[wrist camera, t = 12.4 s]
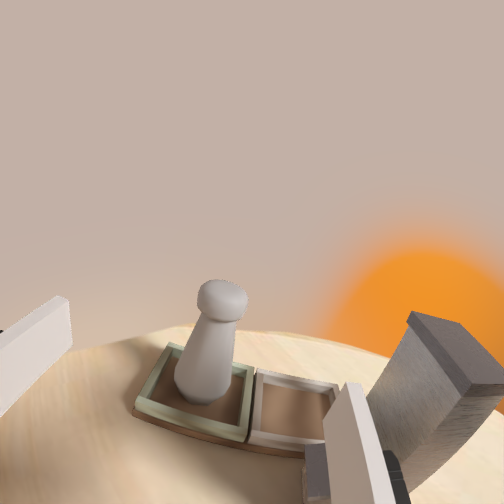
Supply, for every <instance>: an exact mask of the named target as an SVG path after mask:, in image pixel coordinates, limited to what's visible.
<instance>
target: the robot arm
mask: <svg viewBox="0 0 504 504" xmlns="http://www.w3.org/2000/svg"><path fill="white" fill-rule="evenodd" d="M72 346H73V342H72V335H71V323H70V311H69V300H68V299H65V298H63V297H61V296H59V295H57V296H55V297H54V298H52V299H51V300H49V301H48V302H46V303H45V304H43V305H42V306H40V307H38V308H37V309H35V310H34V311H32V312H31V313H29V314H28V315H27V316H25V317H24V318H22V319H21V320H19V321H18V322H16V323H15V324H14V325H12V326H11V327H9V328H8V329H6V330H5V331H2V330H0V417H1V416H2V415H3V414H4V413H5V412H6V411H7V410H8V409H9V408H10V407H11V406H12V405H13V404H14V403H15V402H16V401H17V400H18V398H19V397H20V396H21V395H22V394H23V393H24V392H25V391H26V390H27V389H28V388H29V387H30V386H31V385H32V384H33V383H34V382H35V381H36V380H37V379H38V378H39V377H40V376H41V375H42V374H43V373H44V372H45V371H46V370H47V369H48V368H50V367H51V366H52V365H53V364H54V363H55V362H56V361H57V360H58V359H59V358H60V357H61V356H62V355H63V354H64V353H65V352H66V351H67V350H68V349H69V348H70V347H72ZM322 422H323V430H324V438H325V446H326V455H327V463H328V473H329V482H330V493H331V504H411V501H410V498H409V494H408V491H407V487H406V484H405V480H403V478H404V477H403V473H402V472H401V467H400V464H399V460H398V459H397V457H396V456H395V455H394V453H393V452H392V451H391V450H382V449H381V446H380V442H379V439H378V435H377V432H376V429H375V426H374V422H373V419H372V416H371V413H370V410H369V406H368V403H367V400H366V397H365V394H364V391H363V388H362V385H361V384H360V383H352V382H345V384H344V386H343V388H342V389H341V391H340V393H339V395H338V396H337V398H336V400H335V401H334V403H333V405H332V406H331V408H330V409H329V411H328V413H327V414H326V416H325V417H324V419H323V420H322Z"/></svg>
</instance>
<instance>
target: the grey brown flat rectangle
mask: <svg viewBox="0 0 504 504" xmlns="http://www.w3.org/2000/svg"><path fill="white" fill-rule="evenodd" d="M184 348H185V347H183V346H180V345H177V344H174V343H171V342H169V343H168V344H167V346H166V348H165V350H164V351H163V353H162V355H161V356H160V358H159V360H158V362H157V363H156V365H155V367H154V368H153V370H152V372H151V374H150V375H149V377H148V379H147V381H146V382H145V384H144V386H143V388H142V389H141V391H140V393H139V395H138V397H137V398H136V400H135V406H134V408H133V410H132V415H133V416H134V417H137V418H139V419H142V420H144V421H147V422H149V423H152V424H155V425H158V426H160V427H163V428H166V429H169V430H172V431H175V432H178V433H181V434H184V435H188V436H191V437H194V438H198V439H201V440H205V441H209V442H212V443H216V444H220V445H225V446H229V447H233V448H238V449H243V450H248V451H253V452H258V453H264V454H270V455H277V456H284V457H292V458H301V459H305V457H304V445H307V444H318V443H325V438H324V430H323V422H322V420H323V419H324V417H325V416H326V414H327V413H328V411H329V409H330V408H331V406H332V405H333V403H334V401H335V400H336V398H337V396H338V395H339V393H340V391H339V387H338V384H333V383H327V382H321V381H315V380H310V379H305V378H300V377H295V376H290V375H285V374H281V373H276V372H272V371H268V370H264V369H259V368H257V371H256V373H255V375H254V367H251V366H248V365H244V364H240V363H236V362H232V373H231V383H230V386H229V388H228V390H227V391H226V393H225V394H224V396H222V397H220V398H219V399H217V400H215V401H214V402H212V403H211V404H210V405H209V406H202V405H194V404H190V403H189V402H188V401H187V400H186V399H185V398H184V397H183V396H182V395H181V394H180V392H179V390H178V388H177V385H176V383H175V381H174V372H175V367H176V365H177V363H178V361H179V359H180V357H181V354H182V352H183V350H184Z"/></svg>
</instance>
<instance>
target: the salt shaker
mask: <svg viewBox="0 0 504 504" xmlns="http://www.w3.org/2000/svg"><path fill="white" fill-rule="evenodd" d="M197 306H198V308H199V309H200V311H201V312H202V313H201V315H200V317H199V319H198V321H197V323H196V325H195V327H194V329H193V332H192V334H191V336H190V338H189V340H188V342H187V344H186V346H185V348H184V350H183V352H182V354H181V357H180V359H179V361H178V363H177V365H176V367H175V372H174V381H175V383H176V385H177V388H178V390H179V392H180V394H181V395H182V396H183V397H184V398H185V399H186V400H187V401H188V402H189V403H190V404H194V405H202V406H209V405H210V404H211V403H212V402H214V401H215V400H217V399H219V398H220V397H222V396H224V394H225V393H226V391H227V390H228V388H229V386H230V383H231V373H232V362H233V352H234V341H235V331H236V321H237V320H240V319H241V318H242V316H243V315H244V314H245V312H246V310H247V307H248V297H247V294H246V292H245V291H244V290H243V289H242V288H241V287H240V286H238V285H236V284H234V283H231V282H228V281H225V280H210V281H208V282H206V283H204V284H203V285H202V286H201V287H200V290H199V292H198V299H197Z"/></svg>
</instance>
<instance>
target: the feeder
mask: <svg viewBox="0 0 504 504" xmlns="http://www.w3.org/2000/svg"><path fill="white" fill-rule="evenodd" d="M407 323H408V325H409V326H408V328H407V330H406V332H405V334H404V336H403V338H402V340H401V341H400V344H399V345H398V347H397V349H396V350H395V352H394V354H393V356H392V357H391V359H390V361H389V362H388V364H387V366H386V367H385V369H384V371H383V372H382V374H381V375H380V377H379V379H378V380H377V382H376V383H375V385H374V386H373V388H372V389H371V391H370V392H369V394H368V395H367V397H366V400H367V403H368V406H369V410H370V413H371V416H372V419H373V422H374V426H375V429H376V432H377V435H378V439H379V442H380V446H381V449H382V450H391V451H392V452H393V453H394V455H395V456H396V457H397V459H398V460H399V464H400V467H401V472H402V473H403V477H404V478H403V480H405V484H406V487H407V491H408V494H409V493H410V492H412V491H413V490H414V489H415V488H417V487H418V486H419V485H420V484H422V483H423V482H424V481H425V480H426V479H428V478H429V477H430V476H431V475H432V474H433V473H435V472H436V471H437V470H438V469H439V468H440V467H441V466H442V465H444V464H445V463H446V462H447V461H448V460H449V459H450V458H451V457H452V456H453V455H454V454H455V453H456V452H457V451H458V450H459V449H460V448H461V447H462V446H463V445H464V444H465V443H466V442H467V441H468V439H469V438H470V437H471V436H472V435H473V434H474V433H475V432H476V431H477V429H478V428H479V427H480V426H481V425H482V424H483V422H484V421H485V420H486V419H487V418H488V416H489V415H490V414H491V413H492V411H493V410H494V409H495V407H496V406H497V405H498V404H499V402H500V401H501V399H502V398H503V397H504V368H503V367H502V366H501V365H500V364H499V363H498V362H497V361H496V360H495V359H494V357H493V356H491V354H490V353H489V352H488V351H487V350H486V349H485V348H484V347H483V346H482V345H481V344H480V343H479V342H478V341H477V340H476V339H475V338H474V337H473V336H472V335H471V334H470V333H469V332H468V331H467V330H466V329H465V328H464V327H463V326H462V325H461V324H460V323H457V322H453V321H449V320H445V319H441V318H437V317H433V316H430V315H426V314H422V313H418V312H415V311H411V313H410V315H409V317H408V319H407ZM304 457H305V466H304V467H303V469H302V470H301V472H302V493H303V504H331V493H330V482H329V473H328V463H327V455H326V446H325V443H318V444H307V445H304Z"/></svg>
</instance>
